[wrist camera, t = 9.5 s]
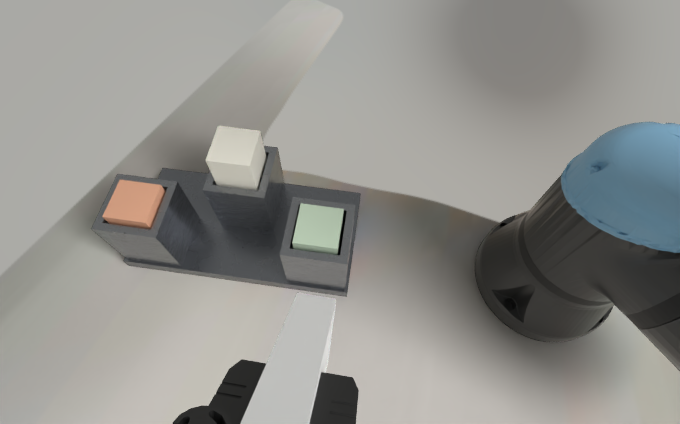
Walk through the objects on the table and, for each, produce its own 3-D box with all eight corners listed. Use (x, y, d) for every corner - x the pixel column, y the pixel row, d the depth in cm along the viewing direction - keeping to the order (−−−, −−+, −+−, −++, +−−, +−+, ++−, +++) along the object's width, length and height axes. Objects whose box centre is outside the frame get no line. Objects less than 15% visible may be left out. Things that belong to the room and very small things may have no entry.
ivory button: (271, 176, 49) (260, 130, 41) (262, 208, 47) (249, 166, 39) (235, 172, 49) (218, 125, 42) (225, 203, 47) (205, 160, 40)
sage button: (341, 243, 48) (343, 208, 41) (336, 278, 46) (337, 248, 39) (305, 238, 49) (300, 203, 41) (298, 272, 47) (292, 242, 39)
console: (359, 199, 53) (365, 156, 45) (346, 296, 47) (349, 267, 39) (166, 174, 55) (137, 127, 46) (129, 265, 48) (86, 231, 40)
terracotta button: (186, 222, 49) (161, 184, 42) (175, 255, 47) (145, 222, 40) (151, 217, 50) (119, 179, 42) (138, 250, 47) (102, 216, 40)
